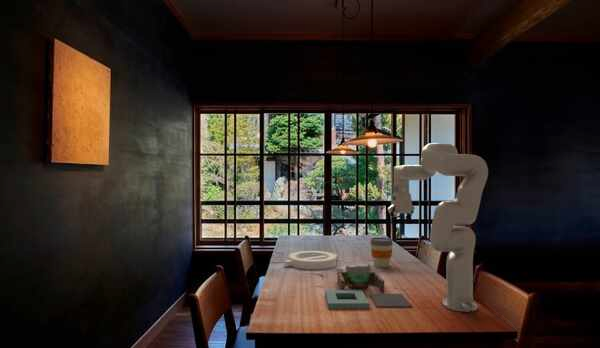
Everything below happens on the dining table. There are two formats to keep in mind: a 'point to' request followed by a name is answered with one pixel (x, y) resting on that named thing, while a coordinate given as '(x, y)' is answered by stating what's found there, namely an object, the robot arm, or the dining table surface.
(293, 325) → the dining table surface
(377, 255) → the reusable coffee cup
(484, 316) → the dining table surface
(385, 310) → the dining table surface
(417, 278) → the dining table surface
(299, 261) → the ring with crossbar
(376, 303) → the charcoal mat
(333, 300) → the hole plate
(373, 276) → the walnut cubby
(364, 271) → the food container
